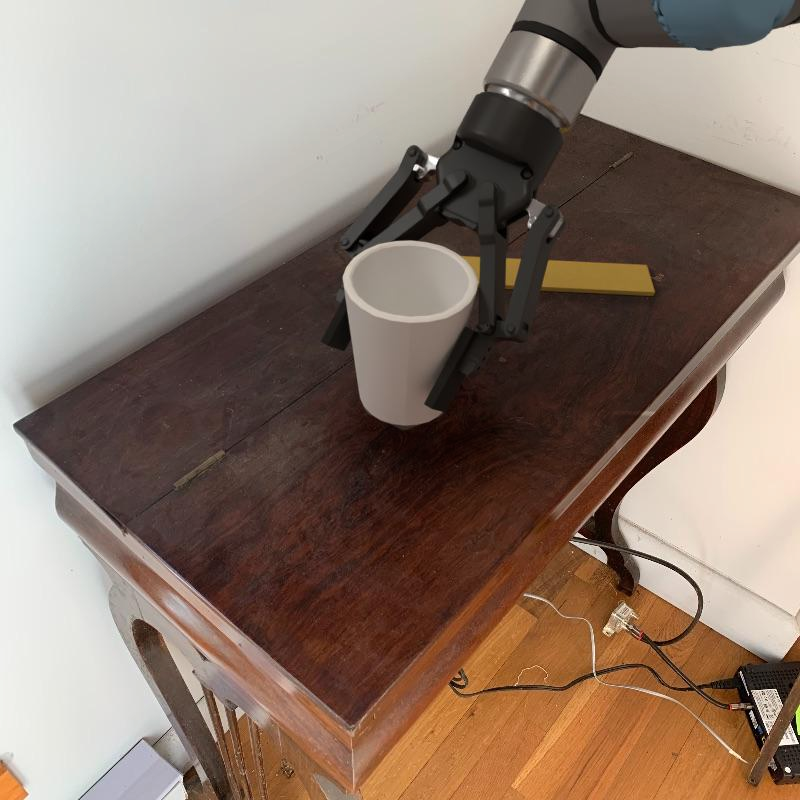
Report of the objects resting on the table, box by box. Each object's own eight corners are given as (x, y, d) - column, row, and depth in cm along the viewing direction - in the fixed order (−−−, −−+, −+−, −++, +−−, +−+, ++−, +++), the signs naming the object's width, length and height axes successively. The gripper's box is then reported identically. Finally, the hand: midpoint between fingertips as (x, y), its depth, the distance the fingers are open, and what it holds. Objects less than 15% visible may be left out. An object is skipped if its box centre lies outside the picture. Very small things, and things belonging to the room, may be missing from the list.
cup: (461, 361, 71) (474, 241, 62) (466, 445, 64) (482, 323, 55) (348, 358, 71) (346, 237, 62) (342, 441, 64) (338, 319, 55)
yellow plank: (645, 269, 91) (647, 264, 91) (653, 296, 88) (655, 292, 88) (452, 259, 91) (453, 255, 91) (453, 286, 88) (453, 282, 88)
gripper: (666, 185, 58) (515, 451, 61) (425, 91, 68) (304, 324, 71) (650, 144, 52) (482, 444, 54) (386, 45, 61) (253, 305, 64)
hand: (381, 376), depth 62 cm, fingers closed on cup, 10 cm apart
